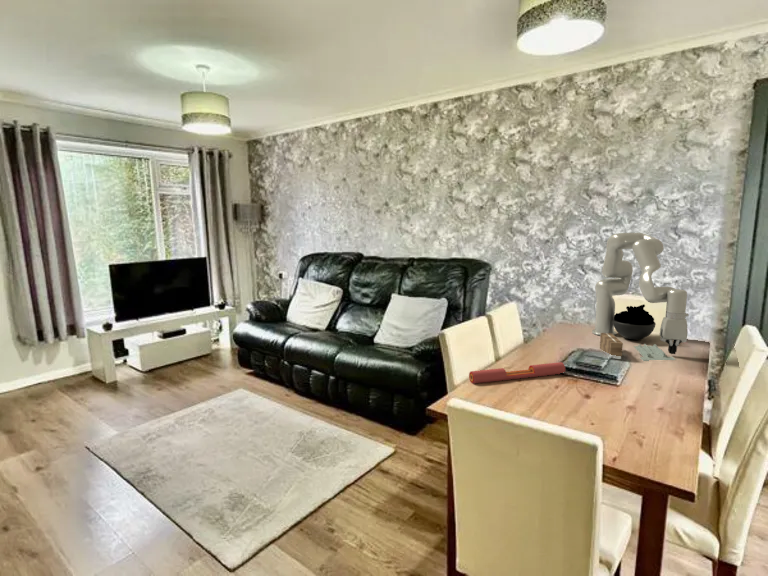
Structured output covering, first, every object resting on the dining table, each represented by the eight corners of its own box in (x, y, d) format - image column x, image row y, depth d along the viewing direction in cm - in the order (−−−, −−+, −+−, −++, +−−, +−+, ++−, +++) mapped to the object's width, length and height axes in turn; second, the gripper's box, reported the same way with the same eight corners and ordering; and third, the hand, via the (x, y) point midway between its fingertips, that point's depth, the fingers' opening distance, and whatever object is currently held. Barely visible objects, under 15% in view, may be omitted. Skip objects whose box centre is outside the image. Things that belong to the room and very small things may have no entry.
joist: (599, 348, 214) (600, 332, 213) (610, 348, 213) (611, 333, 212) (609, 359, 197) (611, 342, 196) (621, 359, 196) (622, 342, 194)
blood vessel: (473, 385, 170) (473, 373, 169) (468, 381, 174) (468, 369, 174) (565, 375, 178) (565, 364, 177) (558, 371, 183) (558, 360, 182)
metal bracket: (629, 342, 205) (660, 341, 204) (626, 352, 207) (657, 351, 207) (645, 359, 192) (678, 358, 191) (642, 369, 194) (675, 369, 194)
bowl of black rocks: (623, 344, 219) (625, 309, 217) (605, 334, 239) (607, 302, 236) (662, 344, 219) (665, 308, 216) (640, 334, 238) (643, 301, 236)
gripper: (689, 314, 198) (686, 351, 200) (654, 313, 201) (651, 350, 204) (697, 317, 190) (693, 356, 193) (660, 316, 194) (657, 355, 197)
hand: (672, 353), depth 199 cm, fingers closed
